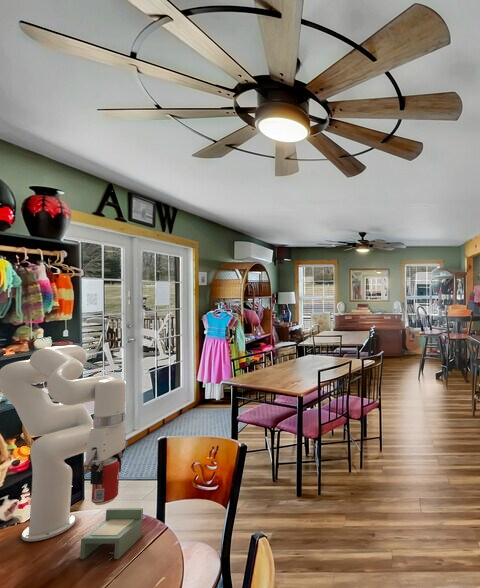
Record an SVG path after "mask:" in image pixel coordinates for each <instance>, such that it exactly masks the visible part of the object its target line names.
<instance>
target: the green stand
mask: <svg viewBox="0 0 480 588" xmlns="http://www.w3.org/2000/svg"><path fill="white" fill-rule="evenodd" d="M143 516H144V508H143V507H140V508H139V507H137V508H136V507H135V508H134V507H132V508H131V507H129V508H128V507H108V508H107V509H106V510H105V519H104V520H103V521H101V522H100V523H99V524H98V525H96V526H94V528H92V529H91V530H89V532H87V533H86V534H85V535H84V536H82V537H81V539H80V550H79V551H80V552H79V555H80V556H79V559H80V560H85V559H86V558H87V557H88V556H89V555H91V554H93V552H94V551H95V550H96V549H98V548H99V547H100V546H101V545H103V544H105V545H106V544H107V545H108V544H112V545H113V544H114V553H113V554H114V556H113V559H114V560H119V559H120V558H121V557H122V556H123V555H124V554H125V553H126V552H127V551H128V550H130V548H131V547H132V546H133V545H135V543H137V542H138V541H139V540H140V539H141V538H142V536H143Z"/></svg>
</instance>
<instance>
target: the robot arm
mask: <svg viewBox="0 0 480 588" xmlns="http://www.w3.org/2000/svg"><path fill="white" fill-rule="evenodd" d="M87 361H88V353H87V351H86V349H85V348H83V347H82V346H80V345H73V344H72V345H60V346H49V347H43V348H40V349H38V350H35V351H34V352H33V353H32V354H31V356H30V357H29V359H25V360H19V361H14V362H11V363H8V364H5V365H4V366H2V367H1V368H0V392H1V394H2V396H4V398H5V399H6V400H7V401H8V402H9V403H11V405H12V406H13V407H14V409H15V411H16V413H17V415H18V417H19V420H20V421H21V423H22V426H23V428H24V429H25V431H26V433H27V434H28V435H29V436H32V437H38V438H37V439H35V440H34V441H33V442H32V443H31V445H30V448H29V455H30V456H29V457H30V461H31V469H32V478H31V495H30V497H31V498H30V511H29V512H30V513H29V524H28V525H29V526H27V527H26V528H25V529H24V530H23V531H22V532H21V539H22V541H25V542H38V541H39V542H40V541H44V540H48V539H51V538H53V537H55V536H59V535H60V534H63V533H64V532H66V531H68V530H69V529H71V528H72V527H73V526H74V524H75V523H76V516H75V515H74V514H71V504H72V503H71V501H72V500H71V499H72V487H73V469H72V467H71V465H69V464H67V462H65V460H66V459H69V458H71V457H75V456H78V455H80V454H83V453H85V461H84V462H83V466H84V468H86V469H87V470H88V472H89V473H90V482H89V483H90V485H92V484H102V483H103V470H102V467H103V464H104V461H105V460H106V459H108V458H117V461H118V462H119V463H120V467H119V473H121V472H122V459H124V453H125V452H126V449H127V447H128V445H129V442H128V441H127V437H126V436H127V430H126V429H127V428H126V421H125V416H126V415H125V414H126V400H127V399H126V398H127V397H126V396H127V381H126V379H123V378H119V377H114V376H112V375H108V374H105V375H103V374H102V375H97V376H90V377H84V378H80V377H81V376H82V374H83V372H84V366H85V365H86V363H87ZM40 383H46V389H47V392H48V393H47V392H46V391H45V390H43V389H42V388H39V387H37V386H34V385H33V384H40ZM51 398H52V399H53V400H54V401H56V402H58V403H54V402H53V401H52V399H51ZM90 402H93V403H94V405H93V417H92V415H91V413H90V412H89V410H88V408H87V407H86V405H85V403H90ZM97 462H99V465H98V466H97V465H96V463H97Z"/></svg>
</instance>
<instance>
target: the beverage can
mask: <svg viewBox="0 0 480 588" xmlns="http://www.w3.org/2000/svg"><path fill="white" fill-rule="evenodd" d="M96 465H97V466H98V465H99V462H96ZM119 467H120V463H119V462H118V461H117V458H111V457H110V458H108V459H106V460H105V461H104V464H103V467H102V470H103V483H102V484H91V485H92V486H91V503H93V504H94V505H95V506H103V505H106V504H110V503H111V502H113V501H114V500H116V498H117V497H118V495H119V487H120V485H119V483H120V472H119Z"/></svg>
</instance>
